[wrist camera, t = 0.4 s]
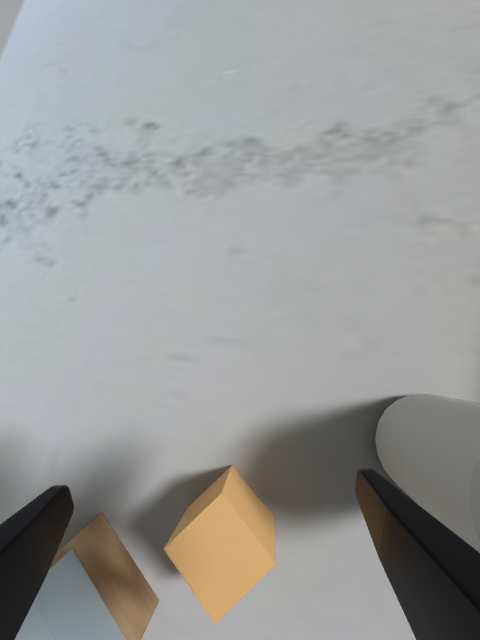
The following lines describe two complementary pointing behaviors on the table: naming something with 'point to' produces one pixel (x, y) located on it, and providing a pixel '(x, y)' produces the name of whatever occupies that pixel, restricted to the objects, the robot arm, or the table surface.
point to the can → (435, 458)
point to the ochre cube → (223, 543)
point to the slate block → (69, 607)
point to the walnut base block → (114, 576)
